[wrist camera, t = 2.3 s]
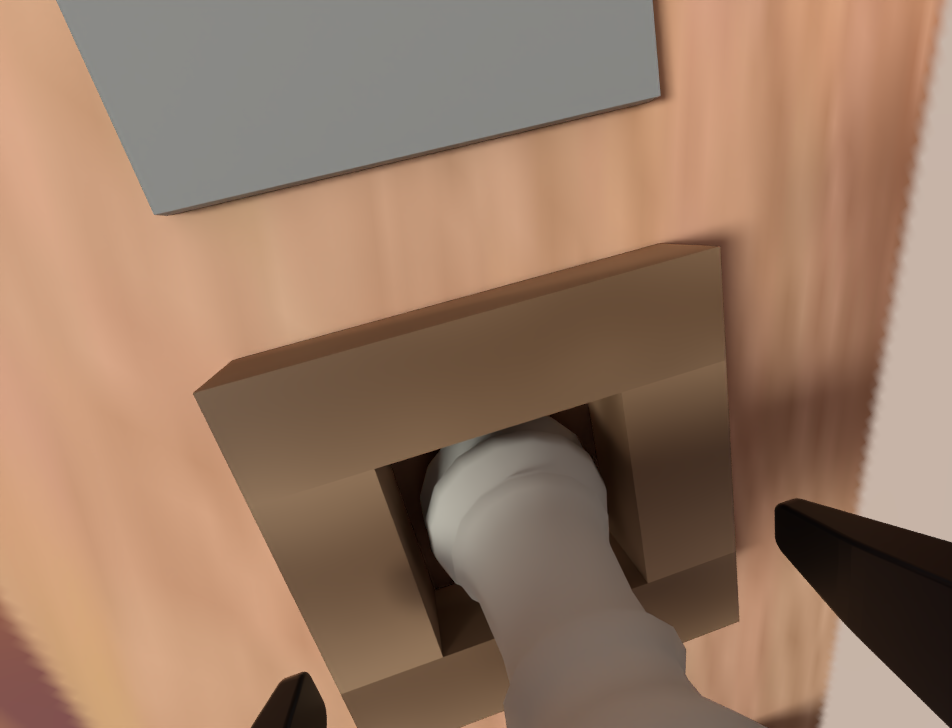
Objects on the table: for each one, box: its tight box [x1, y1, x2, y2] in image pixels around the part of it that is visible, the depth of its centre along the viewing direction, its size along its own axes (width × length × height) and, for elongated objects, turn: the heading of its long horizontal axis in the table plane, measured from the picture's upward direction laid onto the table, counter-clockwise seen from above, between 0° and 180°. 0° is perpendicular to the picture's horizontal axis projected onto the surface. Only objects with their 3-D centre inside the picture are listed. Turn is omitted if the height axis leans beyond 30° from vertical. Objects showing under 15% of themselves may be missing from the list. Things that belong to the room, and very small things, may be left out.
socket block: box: [193, 243, 739, 728], centre depth 11 cm, size 10×10×2 cm
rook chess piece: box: [420, 416, 768, 728], centre depth 8 cm, size 4×4×8 cm
